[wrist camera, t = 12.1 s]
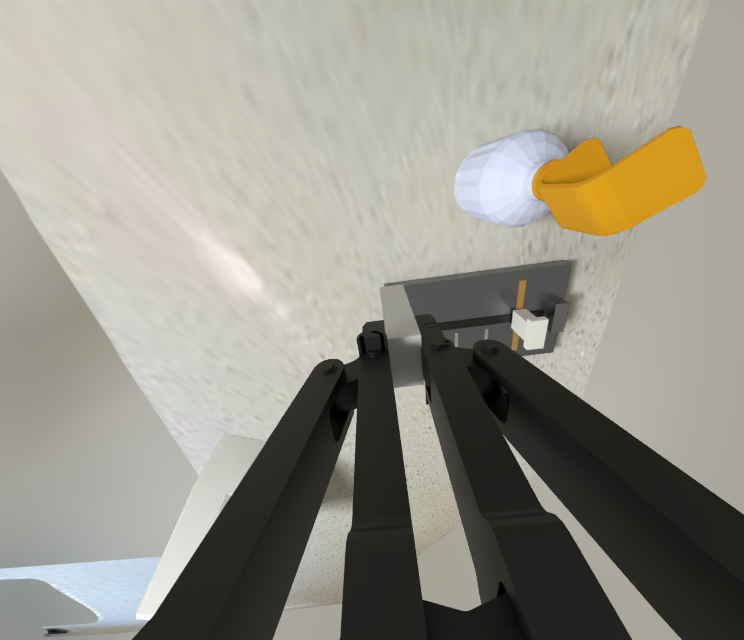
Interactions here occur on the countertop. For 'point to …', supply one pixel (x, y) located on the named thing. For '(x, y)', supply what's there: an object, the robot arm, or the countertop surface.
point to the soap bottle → (577, 181)
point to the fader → (530, 328)
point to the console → (493, 303)
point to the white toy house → (200, 514)
